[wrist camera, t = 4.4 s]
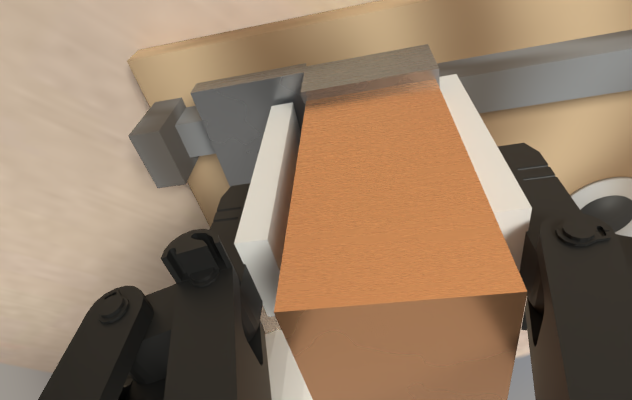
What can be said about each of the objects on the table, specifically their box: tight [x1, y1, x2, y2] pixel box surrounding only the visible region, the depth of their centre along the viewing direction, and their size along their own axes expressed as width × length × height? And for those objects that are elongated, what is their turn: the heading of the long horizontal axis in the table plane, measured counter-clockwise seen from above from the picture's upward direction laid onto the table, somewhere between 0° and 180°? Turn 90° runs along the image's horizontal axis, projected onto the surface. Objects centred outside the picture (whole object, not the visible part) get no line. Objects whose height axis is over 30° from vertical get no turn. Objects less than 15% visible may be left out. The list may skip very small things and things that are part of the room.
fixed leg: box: [190, 63, 307, 187], centre depth 18 cm, size 4×11×2 cm, turn 12°
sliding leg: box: [274, 44, 527, 400], centre depth 13 cm, size 4×11×11 cm, turn 12°
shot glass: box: [265, 330, 313, 400], centre depth 28 cm, size 7×7×7 cm
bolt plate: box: [127, 0, 632, 237], centre depth 17 cm, size 24×14×4 cm, turn 102°
